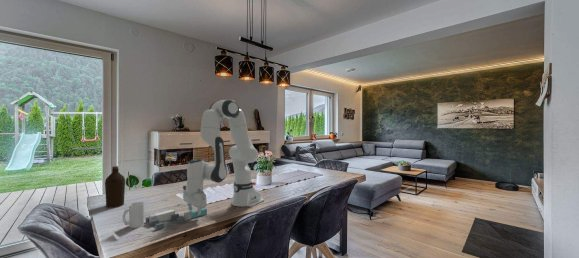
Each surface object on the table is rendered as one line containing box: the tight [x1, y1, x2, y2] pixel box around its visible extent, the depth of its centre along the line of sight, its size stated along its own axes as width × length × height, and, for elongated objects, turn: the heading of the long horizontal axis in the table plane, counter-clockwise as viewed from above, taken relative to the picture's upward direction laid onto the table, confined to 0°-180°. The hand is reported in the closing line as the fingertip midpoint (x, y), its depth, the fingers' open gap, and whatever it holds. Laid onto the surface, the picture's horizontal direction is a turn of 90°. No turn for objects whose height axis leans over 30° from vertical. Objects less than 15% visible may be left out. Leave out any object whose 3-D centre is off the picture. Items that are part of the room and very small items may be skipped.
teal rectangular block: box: [183, 208, 208, 221], centre depth 138 cm, size 12×3×4 cm, turn 139°
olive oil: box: [104, 165, 126, 209], centre depth 156 cm, size 11×11×25 cm
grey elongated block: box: [148, 209, 176, 223], centre depth 131 cm, size 12×3×4 cm, turn 139°
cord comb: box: [145, 213, 186, 231], centre depth 129 cm, size 14×14×4 cm
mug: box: [122, 201, 145, 229], centre depth 123 cm, size 10×7×12 cm, turn 150°
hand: (194, 212), depth 138 cm, fingers open, 8 cm apart
